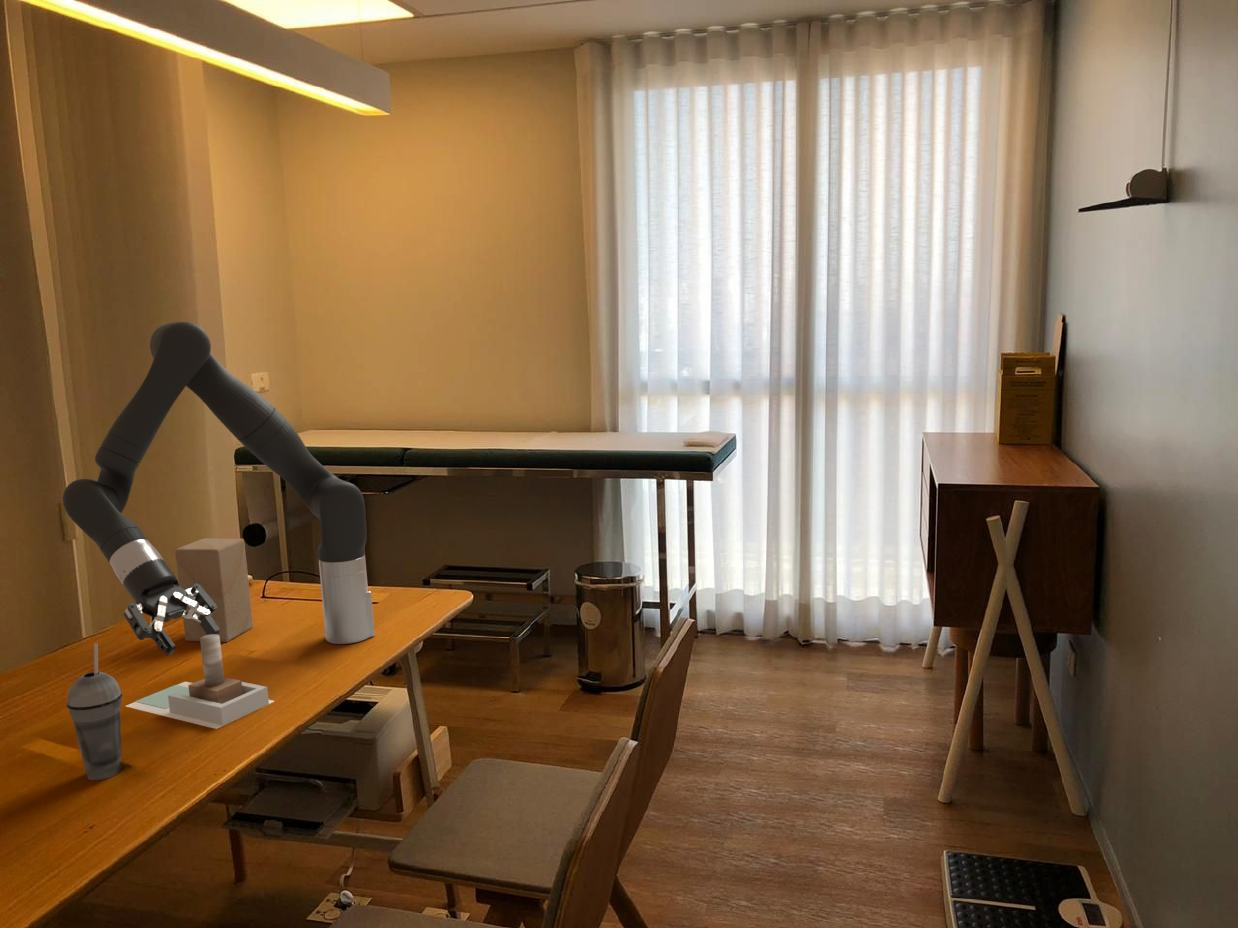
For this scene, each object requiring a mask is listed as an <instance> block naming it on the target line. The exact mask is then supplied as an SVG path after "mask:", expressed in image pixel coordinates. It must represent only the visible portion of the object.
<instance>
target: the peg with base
mask: <svg viewBox="0 0 1238 928" xmlns="http://www.w3.org/2000/svg"><path fill="white" fill-rule="evenodd" d="M199 642H200V650H201V658H202V659H201V661H202V665H203V666H202V667H203V676H204V678H203V679H200V680H198V681H195V682H191V683H192V684H190V685H188V687H189V696H190V697H194V698H198V699H203V700H207V701H212V702H216V703H220V704H223V703H225V702H227V701H230V700H232V699H234V698H236V697H239V696H241V695H243V690H242V682H243V680H239V679H235V678H231V677H225V673H224V664H223V656H222V647H221V642H220V636H219V635H217V634H212V635H206V636H203V637H201V638H200V641H199Z"/></svg>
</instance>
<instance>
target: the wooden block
mask: <svg viewBox="0 0 1238 928" xmlns="http://www.w3.org/2000/svg"><path fill="white" fill-rule="evenodd" d="M174 552H175V553H174V554H175V562H176V569H177V580H178V583H179V586H180V587H182V588H183V589H185V590H187V589H189V588H192V587H193V585H194V584H196V583H197V584H199V585H200V586H201V587H202V588H203V589H204V591H205V592H206V593H207V594H208V595H209V597H210V598H211V599H212V600H213V602H214V603H215V604H216V605H217V608H216V609H215V611H214V612H213V614H212V615H211V617H212V618H213V620H214V621H215V622H216V624H217V625H218V627H219V629H220V630H219V634H218V635H219V636H220V643H228V642H230V641H231V640H233V639H234V638H236V637H238V636H240V635H241V634H244V633H245V632H248V631H249V630H251V629H252V628H253V627H254V620H253V613H252V612H253V611H252V601H251V595H250V585H249V584H250V583H249V574H248V573H249V572H248V565H247V556H246V555H247V554H246V545H245V540H244V538H223V537H222V538H221V537H220V538H219V537H218V538H217V537H216V538H215V537H213V538H210V537H209V538H208V537H207V538H206V537H205V538H201V539H199V540H196V541H194V542H190V543H188V544H185V545H183V546H181V547H178V548H175V550H174ZM188 598H189V597H188ZM189 599H190V598H189ZM190 609H191V608H190V607H189V606H187V609H186V610H187V611H188V610H190ZM196 613H198V612H196ZM198 614H200V613H198ZM200 615H201V614H200ZM182 622H183V631H184V639H185V641H187V642H200V638H201V637H203V636H206V635H207V634H206V632H205V631H204V629H203V628H202V627H201V625H200V622H198V621H196V620H194V619H191V618H190V619H187V618H184V617H182Z"/></svg>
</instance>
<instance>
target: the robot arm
mask: <svg viewBox="0 0 1238 928" xmlns="http://www.w3.org/2000/svg"><path fill="white" fill-rule="evenodd" d="M211 347H212V345H211V340H210V337H209V335H208V334H207V333H206V330H204V329H203V327H201V326H199V325H197V324H195V323H193V322H189V321H175V322H174V321H173V322H169V323H166V324H162V325H160V326H159V327H158V328H156V330H155V331H154V332H153V333H152V334H151V338H150V342H149V351H150V353H151V355H152V358H153V360H152V363H151V365H150V368H149V370H148V372H147V373H146V376H145V378H144V380H143V382H142V383H141V385H140V387H139V388H138V390H137V391H136V393H135V394H134V395H133V397H132V398H131V399H130V400H129V402H128V403H127V404H126V406H125V407H124V409H123V410H121V412H120V414H119V415H118V416H117V417H116V419H115V420H114V422H113V424H112V426H111V427H110V429H109V431H107V434H106V435H105V437H104V440H102V442H101V444H100V446H99V448H98V450H97V451H96V453H95V457H94V462H95V463H96V465H98V467H99V469H100V471H99V474H98V478H97V481H96V480H94V479H92V478H91V479H90V478H79V479H75V480H74V481H72V482H70V483H68V485H67V486H66V488H65V489H64V490H63V491H64V492H63V493H62V503H63V507H64V510H65V512H66V513H67V515H68V517H69V518H70V519H71V520H72V522H73V523H74V524H76V526H78V528H79V529H81V531H83V532H84V533H85V534H86V535H87V536H88V537H89V538H90V539H91V540H92V541H93V542H94V543H95V544H96V545H97V547H98V548H99V550H100V552H101V553H102V554H103V556H104V558H106V560H107V561H108V562H109V564H110V566H111V567H112V570H113V572H114V574H115V575H116V577H117V578H118V580H119V581H120V583H121V585H123V587H124V589H125V590H126V591H127V593H128V595H130V597H131V598H132V600H133V601H134V602H135V603H134V602H131V603H129V604H128V605H127V607H126V609H125V611H124V612H123V616H124V618H125V620H126V621H127V622H128V624H129V626H130V627H131V628H130V629H131V630H132V631H133V632H134V634H135V635H136V638H137V639H138V640H140V641H143V640H145V639H150V640H153V641H154V643H155V644H156V645H157V647H158V649H160V651H161V653H163V654H166V656H171V655H173V653H174V652H175V651H176V650H177V646H176V645H175V643H174V641H173V640H172V638H171V636H169V635H168V633H167V632H166V630H165V629H164V630H163V626H164V623H168V622H169V621H172V620H174V619H180V618H183V617H184V618H187V619H190V618H191V619H194V620H196V621H198V622H200V625H201V627H202V628H203V629H204V631H205V632H206V634H207V635H212V634H217V635H218V634H219V630H220V629H219V627H218V625H217V624H216V622H215V621H214V620H213V618H212V617H211V615H212V614H213V612H214V611H215V609H216V608H217V605H216V604H215V603H214V602H213V600H212V599H211V598H210V597H209V595H208V594H207V593H206V592H205V591H204V589H203V588H202V587H201V586H200V585H199V584H197V583H196V584H194V585H193V587H192V588H189V589H187V590H185V589H183V588H182V587H180V586H179V580H178V576H176V574H175V572H173V571H172V569H171V568H170V566H169V565H168V563H167V562H166V561H165V559H164V557H162V555H161V553H159V551H158V550H157V548H156V547H155V546H153V545H152V543H151V542H150V541H149V539H148V538H147V537H146V536H145V535H144V533H143V532H142V530H141V528H139V526H138V524H136V522H134V521H133V520H132V519H130V518H129V517H127V516H126V515H123V514H122V512H124V509H125V508H126V505H127V503H128V500H129V497H130V493H131V491H132V490H131V489H132V486H133V482H134V479H135V478H134V477H135V473H136V470H137V469H138V467H139V465H140V464H141V463H142V461H143V459H144V457H145V455H146V453H147V452H148V449H149V448H150V446H151V445H152V443H153V440H154V439H155V438H156V435H157V433H158V431H159V429H160V428H161V426H162V424H163V422H164V421H165V418H166V417H167V415H168V413H169V411H170V410H171V408H172V407H173V405H175V402H176V401H177V399H178V398H179V396H180V395H181V394H182V393H183V391H184V389H185V388H186V387H187V388H188V390H190V391H192V392H193V393H194V394H195V395H196V396H197V397H198V398H199V399H200V400H201V402H203V403H204V404H205V405H206V407H207V409H209V410H210V411H211V413H212V414H213V415H214V416H215V417H216V418H217V419H218V420H219V421H220V423H221V424H222V425H224V427H225V428H226V429H227V430H228V431H229V433H231V434H232V435H233V436H234V438H235V439H237V440H238V441H239V443H241V444H242V445H243V446H244V447H245V448H246V450H248V451H249V452H250V453H251V454H252V455H253V456H255V457H256V458H257V459H258V460H259V461H260V462H261V463H262V464H264V465H265V466H266V467H267V468H269V469H270V470H271V471H272V472H274V473H275V474H276V475H278V476H279V477H280V478H281V479H283V480H284V481H285V483H287V484H288V485H289V486H290V487H291V488H292V490H293V491H294V492H295V493H296V494H297V495H298V497H299V498H300V499H301V500H302V501H303V503H304V504H305V505H306V507H307V508H308V509H309V510H310V512H311V513H312V515H314V516H315V517H316V518H317V519H318V520H319V521H320V532H321V541H320V544H319V545H318V546H317V557H318V568H319V569H318V570H319V577H320V588H321V589H320V591H321V599H322V601H321V602H322V611H323V622H324V623H323V624H324V633H325V641H326V642H327V643H330V644H335V645H346V644H354V643H358V642H361V641H364V640H366V639H367V640H368V639H369V638H371V637H374V636H375V635H376V634H375V624H374V611H373V599H372V592H371V591H370V590H369V589H368V587H369V586H368V576H367V564H366V553H365V552H366V551H365V546H366V543H367V538H368V536H367V535H368V534H367V518H366V517H367V514H366V505H365V504H366V503H365V499H364V495H363V493H362V491H361V490H360V489H359V487H357V486H356V485H355V484H354V483H351V482H348V481H346V480H343V479H340V478H339V477H337V476H336V475H335V474H333V473H332V472H331V471H330V470H328V469H327V468H326V467H325V466H323V464H321V463H320V462H319V461H318V459H316V458H315V457H314V456H313V455H312V454H311V453H310V451H309V450H308V448H307V447H306V444H305V443H304V442H303V440H302V439H301V437H300V435H299V434H298V432H297V430H296V428H294V426H292V424H291V423H290V422H289V421H288V419H286V417H284V416H283V414H282V413H281V412H280V411H279V410H278V409H277V408H276V407H275V406H274V405H273V404H272V403H270V402H269V400H267V399H266V398H265V397H263V396H262V395H261V394H259V393H258V392H257V391H256V390H254V389H253V388H251V387H250V386H248V385H247V384H246V383H244V382H243V381H241V380H240V379H238V378H237V377H236V376H234V375H233V374H231V373H230V372H229V371H228V370H227V369H226V368H225V366H223V365H222V364H221V362H220V361H219V360H218V359H217V358H216V357H215V355H213V353H211V352H212V349H211ZM188 597H189V598H190V599H189V598H188ZM187 606H189V607H190V608H191V609H190V610H188V611H187V610H186V609H187ZM196 612H198V613H200V614H201V615H200V614H198V613H196ZM143 614H144V615H147V616H148V617H150V620H149V621H150V623H148V622H147V620H146V619H145V617H144V616H143Z"/></svg>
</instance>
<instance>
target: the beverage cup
mask: <svg viewBox="0 0 1238 928" xmlns="http://www.w3.org/2000/svg"><path fill="white" fill-rule="evenodd" d="M98 646H99V644H98V643H94V645H93V659H94V660H93V670H94V671H91V672H87V673H85V674H83V675H81V676H79V677H78V678H76V680H74V682H73V683H72V684H71V686H70V688H69V690H68V694H67V701H66V708H67V709H68V712H69V715H70V718H71V720H72V721H73V725H74V728H75V729H74V730H75V733H76V738H77V742H78V746H79V750H80V755H81V757H82V762H83V767H84V770H85V772H86V775H87V779H88V780H89V781H101V780H102V781H103V780H107V779H110V778H112V777H115V776H116V775H118V774H120V772H121V771H122V760H123V759H122V731H121V710H122V709H121V708H122V698H123V693H122V691H121V687H120V686H119V683H118V681H117V680H116V679H115V678H114V677H113V676H111V675H110V674H108V673H105V672H103V671H99V647H98Z"/></svg>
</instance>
